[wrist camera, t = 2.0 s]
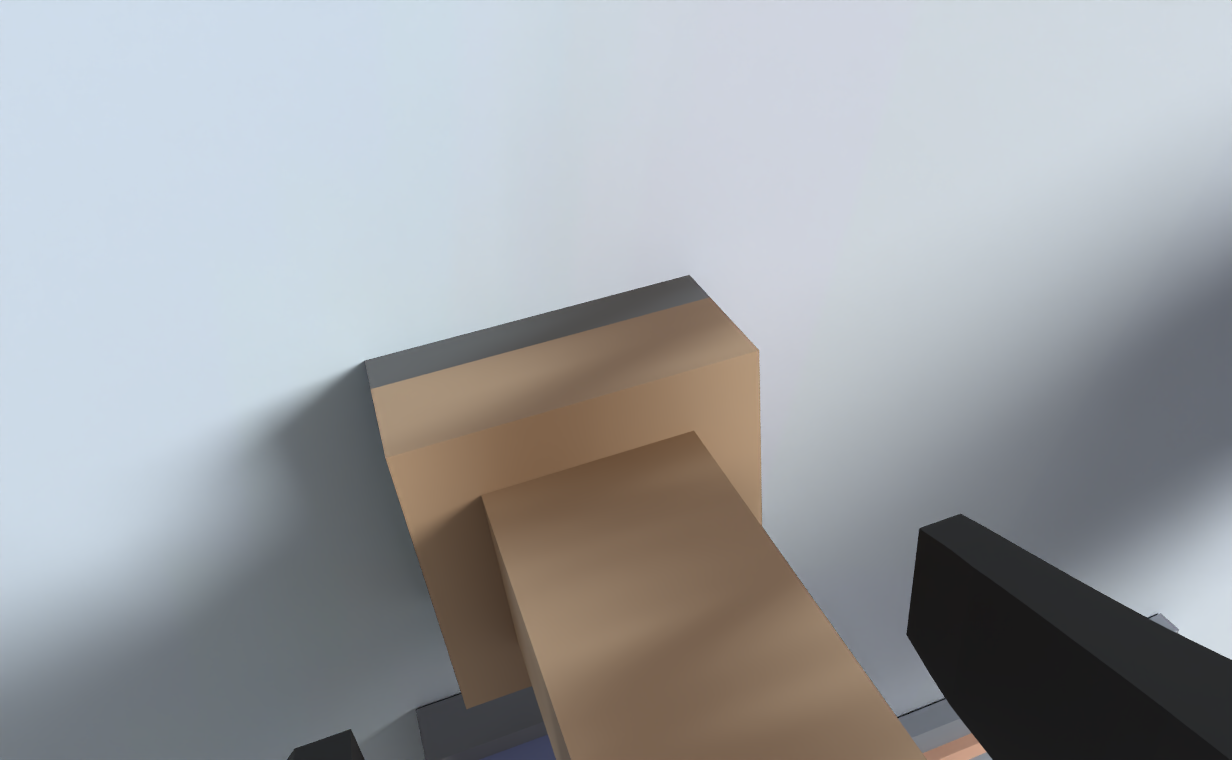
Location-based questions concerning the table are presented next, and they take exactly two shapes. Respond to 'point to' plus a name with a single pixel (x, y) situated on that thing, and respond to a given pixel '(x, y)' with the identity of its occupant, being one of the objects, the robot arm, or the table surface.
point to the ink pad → (485, 729)
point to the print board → (956, 727)
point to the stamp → (618, 536)
